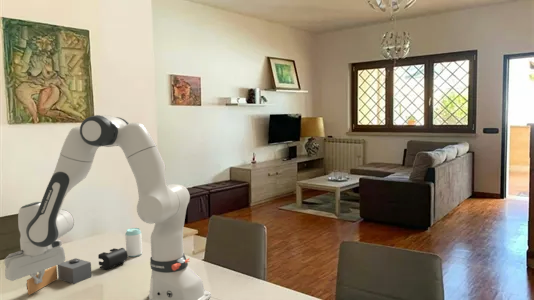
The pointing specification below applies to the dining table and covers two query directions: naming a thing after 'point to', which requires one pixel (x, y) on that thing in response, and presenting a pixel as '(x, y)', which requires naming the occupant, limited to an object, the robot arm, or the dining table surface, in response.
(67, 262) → the block
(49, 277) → the door
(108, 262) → the black ridged cylinder
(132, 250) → the can
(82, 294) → the dining table surface
